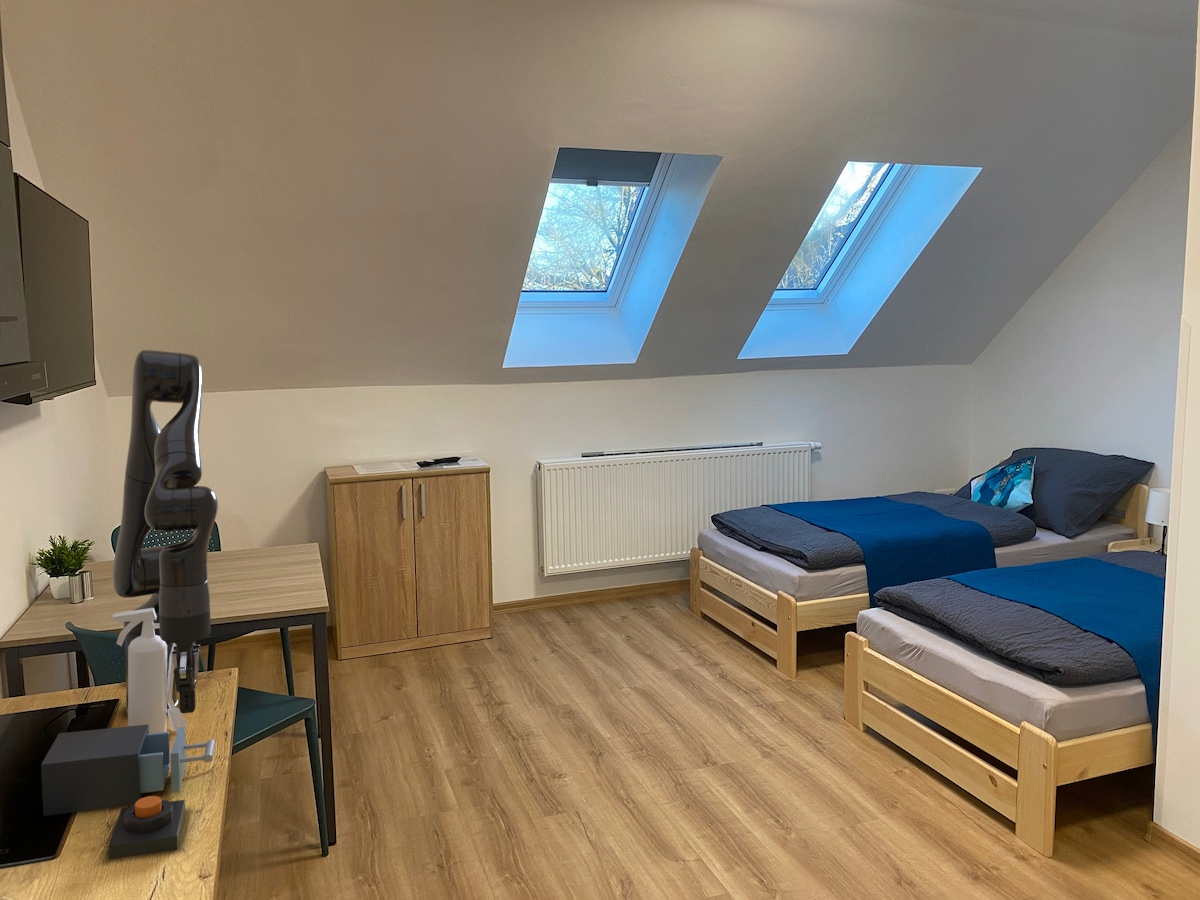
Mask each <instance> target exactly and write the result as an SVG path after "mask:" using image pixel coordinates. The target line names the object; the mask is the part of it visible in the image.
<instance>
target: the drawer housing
mask: <svg viewBox="0 0 1200 900" xmlns="http://www.w3.org/2000/svg"><path fill="white" fill-rule="evenodd" d="M148 733H149V724H147V725H137V726H128V725H127V726H118V727H108V728H99V729H89V730H79V731H70V732H69V731H68V732H59V733H58V734H57V736H56V738H55V740H54V742H53V743H52V745H51V747H49V750H48V752H47V754H46V755H45V757H44V758H43V760H42V761H41V764H40V768H41V770H40V771H41V791H42V792H41V793H42V812H43V813H42V814H43V817H49V816H57V815H64V814H72V813H80V812H88V811H96V810H104V809H112V808H119V807H121V808H122V807H130V806H133V805H134V804H135V803H136V802H137V801H138V800H139V799H141V798H143V795H144V793H140V768H139V755H140V752H141V749H142V747H143V744H144V741H145V738H146V735H147V734H148Z"/></svg>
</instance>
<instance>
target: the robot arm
mask: <svg viewBox="0 0 1200 900" xmlns="http://www.w3.org/2000/svg"><path fill="white" fill-rule="evenodd" d="M202 368H203V367H202V365H201V361H200V359H199V358H198V356H196V355H194V354H190V353H185V352H176V351H175V352H174V351H164V350H153V349H143V350H141V351H139V352H138V354H137V355H136V356H135V360H134V364H133V371H132V387H131V388H132V389H131V390H132V391H131V396H132V397H131V417H130V418H131V420H130V434H129V435H130V436H129V441H128V449H127V457H126V463H125V472H124V482H123V483H124V484H123V496H122V497H123V498H122V509H121V520H120V527H119V533H118V537H117V543H116V547H115V553H114V557H113V564H112V584H113V588H114V591H115V592H116V593H115V594H117V595H118V596H119V597H121V598H124V599H125V598H129V599H130V598H137V597H143V596H150V595H151V596H150V597H149V599H147V600H146V601H145V602H144V603H142V604H141V605H140V606H138V607H135V608H134V609H132V610H131V611H135V610H141V609H148V608H154V610H155V613H156V616H157V618H156V620H153V623H160V628H154V631H155V635H157V636H160V638H161V639H162V640H163V641H165V642H166V644H167V684H168V671H169V658H170V654H171V650H172V646H173V643H175V644H176V645H177V646H176V647H174V649H173V652H172V663H173V664H174V671H173V674H174V678H173V691H172V699H173V702H174V705H175V707H177V708H179V709H180V712H181V713H182V714H190V713H191V714H192V713H194V712H195V711H196V704H197V703H196V688H197V684H198V681H197V679H198V676H199V675H198V673H199V670H200V655H201V644H196V641H202V640H204V639H206V638H207V637H209V636H210V635H211V633H212V626H211V625H212V624H211V622H212V621H211V593H210V586H209V581H208V579H209V578H208V576H209V575H208V551H209V544H210V539H211V535H212V531H213V528H214V525H215V521H216V518H217V514H218V510H219V500H218V497H217V495H216V494H215V491H213V489H211V488H210V487H209V486H205V485H198V484H199V483H200V481H201V479H202V475H203V469H202V457H201V449H200V428H201V419H202V402H203V401H202V399H203V398H202V397H203V369H202ZM153 403H169V404H181V407H180V408H179V410H178V411H177V412H176V413H175V414H174V415H173V417H171V419H170V420H169V421H168V422H167V423H165V425H164V426H163V427H162V429H161V428H160V427H159V424H158V423H157V419H156V418H155V415H154V413H153V409H152V404H153ZM152 530H154V531H155V532H157V533H158V532H159V533H160V532H161V533H171V532H184V531H193V533H192V535H191V536H190V537H189V538H188V539H186V540H184V541H181V542H178V543H174V544H170V545H167V546H165V545H163V546H161V545H159V546H152V547H145V548H142V547H143V546H144V543H145V540H146V538H147V537H148V535H149V533H150V532H151V531H152ZM130 622H131V621H129V622H123V629H124V628H125V627H126V626H127V625H128V624H129V623H130ZM142 626H143V621H142V622H140V623H139V624H137V625H136V626H135V627H133V628H132V629H131V630H130V632H129V633H128V634H127V635H126V636H125V639H124V641H123V645H124V669H125V671H124V672H125V701H126V702H125V703H126V707H125V711H126V712H125V713H126V715H127V716H128V647H129V645H130V643H131V641H132V640H134V639H135V638H137V637H140V636H141V633H142ZM178 693H179V699H178ZM168 710H169V706H168V703H167V714H168Z"/></svg>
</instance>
